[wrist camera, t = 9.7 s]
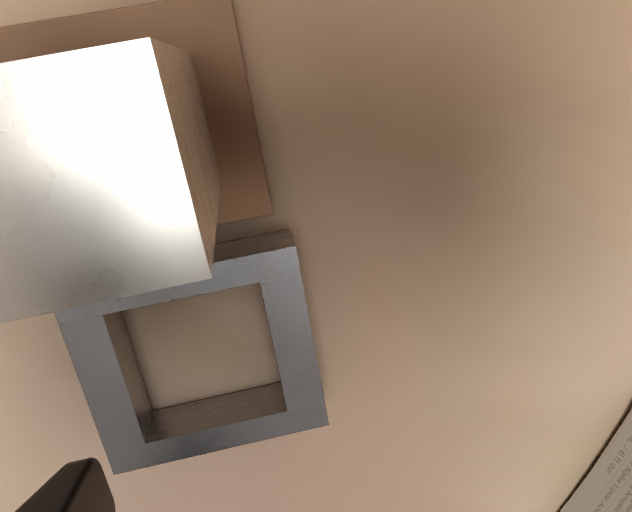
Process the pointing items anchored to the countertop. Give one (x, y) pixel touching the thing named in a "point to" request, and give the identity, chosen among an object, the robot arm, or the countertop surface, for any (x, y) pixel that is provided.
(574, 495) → the skincare box
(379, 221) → the countertop surface
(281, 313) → the square metal frame
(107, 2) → the countertop surface
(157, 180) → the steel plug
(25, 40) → the walnut pad
